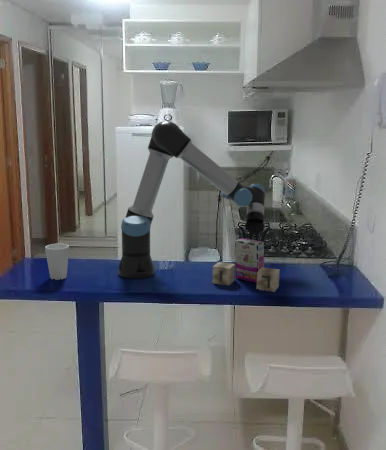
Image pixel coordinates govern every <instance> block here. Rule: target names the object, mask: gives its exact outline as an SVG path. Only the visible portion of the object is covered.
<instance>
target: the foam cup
mask: <svg viewBox="0 0 386 450" xmlns="http://www.w3.org/2000/svg"><path fill="white" fill-rule="evenodd" d="M44 254H45V255H46V261H47V268H48V272H49V277H50V280H53V279H55V280H54V281H56V280H57V281H58V280H60V279H61V280H64V279H67V276H68V275H67V273H68V265H69V254H70V245H69V244H67V243H51V244H48V245H45V246H44Z"/></svg>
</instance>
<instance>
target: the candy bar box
mask: <svg viewBox="0 0 386 450" xmlns="http://www.w3.org/2000/svg"><path fill="white" fill-rule="evenodd" d="M234 243H235V245H234V250H235V256H234V257H235V279H239V280H241V281H245V282H250V283H253V284H257V272H258V271H259V270H260V269H261V268H262V267H264V268H265V242H262V241H261V240H258V241H257V240H256V239H252V240H251V239H249V238H246V239H245V238H243V237H241V238H238V239H235V240H234Z"/></svg>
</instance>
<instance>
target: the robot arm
mask: <svg viewBox="0 0 386 450" xmlns="http://www.w3.org/2000/svg"><path fill="white" fill-rule="evenodd" d="M150 137H151V138H150V140H149V142H148V146H147V150H148V152H149V155H148V158H147V161H146V163H145V167H144V170H143V173H142V177H141V179H140V182H139V185H138V188H137V192H136V195H135V198H134V201H133V204H132V205H131V206H130V207H128V208H127V211H126V215H125V217H124V218H123V219H122V221H121V224H120V225H121V226H120V229H121V259H120V262H119V265H118V267H117V268H118V269H117V271H118V272H117V274H118V276H120V277H122V278H126V279H144V278H149V277H152V276H154V274H155V265H154V261H153V260H152V256H151V225H152V222H153V219H154V217H155V215H154V214H153V208H154V207H155V206H154V205H155V202H156V200H157V196H158V194H159V190H160V187H161V185H162V182H163V179H164V177H165V176H164V174H165V173H166V169H167V167H168V164H169V162H170V161H169V160H170V159H173V158H175V159H181V160H182V161H183V162H184V163H186V164H187V165H188V166H189V167H190V168H192V169H193V170H194V171H195V172H197V173H198V174H199V175H200V176H202V177H203V178H204V179H206V180H207V181H208V182H209V183H211V184H212V185H213V186H214V187H215V188H216V189H218V190H219V191H220V192H221V193H220V194H221V197H222V198H223V199H227V200H231V201H232V202H234V203H235V204H236V205H237V206H238V207H246V218H245V220H246V221H245V224H244V226H239V232H240V233H241V236H242V237H241V238H245V239H247V235H246V231H247V232H248V234H249V238H248V239H251V240H253V239H254V238H253V236H254V235H255V240H257V241H262V242H264V243H265V241H266V239H267V236H268V235H269V234H270V227H266V225H265V223H264V222H265V217H264V216H265V200H266V199H265V198H266V191H265V187H264V186H263V184H260V183H252V184H250V185H249V186H246V185H243V184H241V183H240V182H239V181H238V180H237V179H236V178H234V177H233V176H232V175H231V174H229V173H228V172H227V171H226V170H224V169H223V168H222V167H221V166H220V165H219V164H217V163H216V162H215V161H214V160H213V159H212V158H211V157H209V156H208V155H207V154H206V153H204V152H203V151H202V150H200V149H199V148H198V147H197V146H196V145H194V144H193V143H192V139H191V138H190V137H189V136H188V135H187V134H186V133H185V132H183V130H182V129H181V128H180V127H179V126H178V124H176V123H175V122H172V121H167V120H164V121H159V123H157V124H156V125H155V126H154V127H153V129H152V132H151V136H150ZM262 232H263V234H262V237H261V240H260V239H259V237H260V234H261V233H262Z"/></svg>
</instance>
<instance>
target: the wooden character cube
mask: <svg viewBox="0 0 386 450" xmlns="http://www.w3.org/2000/svg"><path fill="white" fill-rule="evenodd" d="M235 280H236V263H231V262H223V261H218V262H217V263H215V264H214V265H212V284H216V285H223V286H230V285H232V284H233V283H234V282H235Z"/></svg>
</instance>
